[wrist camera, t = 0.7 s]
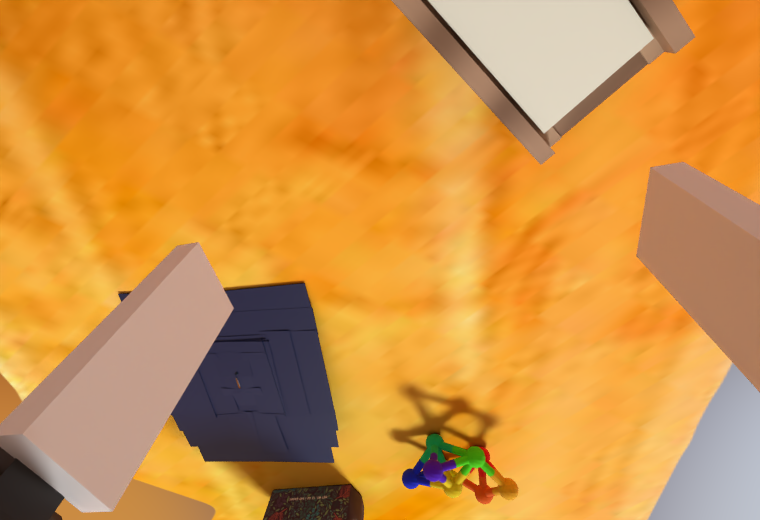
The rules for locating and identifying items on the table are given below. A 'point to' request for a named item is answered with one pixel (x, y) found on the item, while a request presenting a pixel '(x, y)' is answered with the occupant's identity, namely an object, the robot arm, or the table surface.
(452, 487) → the decorative model
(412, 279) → the table surface
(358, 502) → the black coffee bag
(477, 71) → the box
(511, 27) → the lid
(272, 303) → the dark blue flat slab
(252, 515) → the table surface
